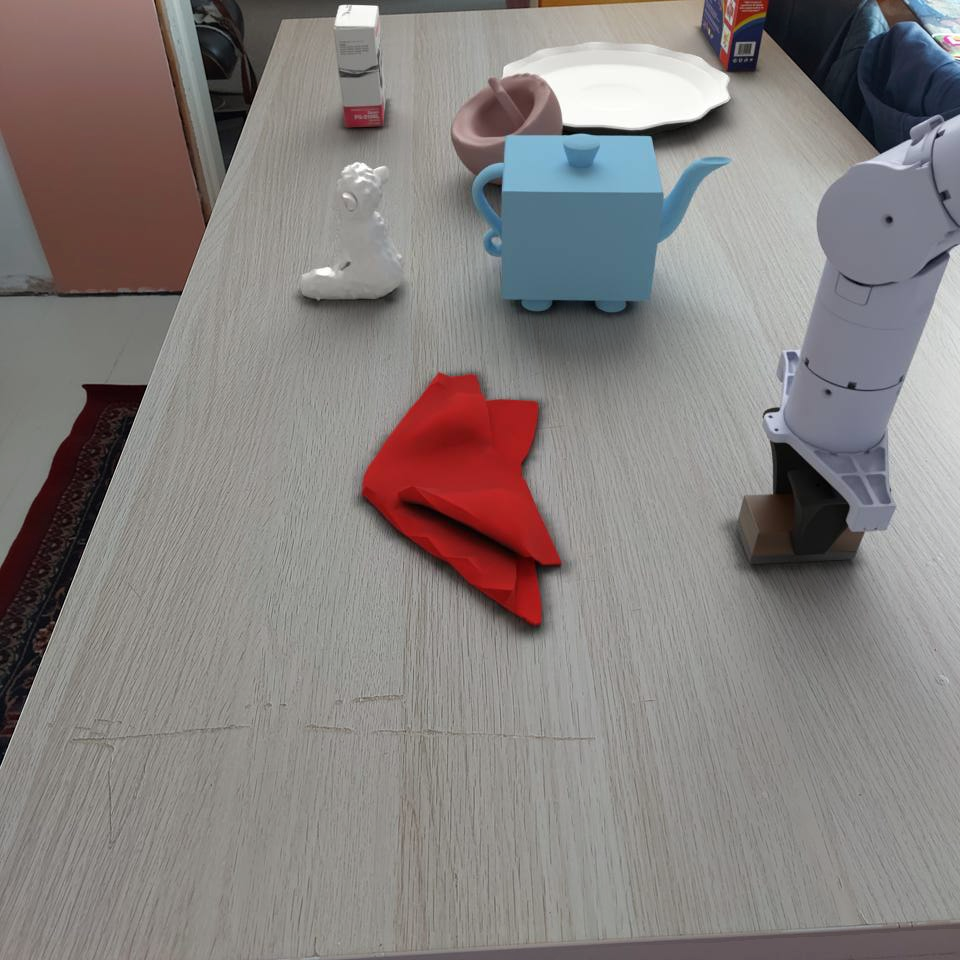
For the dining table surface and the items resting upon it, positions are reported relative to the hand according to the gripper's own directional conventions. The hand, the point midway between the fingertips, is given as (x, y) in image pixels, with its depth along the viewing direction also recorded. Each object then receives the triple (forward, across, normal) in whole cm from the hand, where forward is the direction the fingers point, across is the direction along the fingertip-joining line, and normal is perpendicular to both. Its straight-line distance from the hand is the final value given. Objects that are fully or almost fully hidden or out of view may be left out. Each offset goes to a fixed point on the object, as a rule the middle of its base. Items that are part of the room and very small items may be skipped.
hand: (798, 527), depth 60 cm
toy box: (+2, -96, +19) cm, 97 cm away
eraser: (+1, 0, 0) cm, 1 cm away
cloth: (+2, -7, -22) cm, 24 cm away
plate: (+2, -78, 0) cm, 78 cm away
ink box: (+2, -76, -32) cm, 82 cm away
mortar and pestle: (+2, -56, -15) cm, 58 cm away
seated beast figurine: (+2, -35, -30) cm, 47 cm away
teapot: (+2, -34, -9) cm, 35 cm away
